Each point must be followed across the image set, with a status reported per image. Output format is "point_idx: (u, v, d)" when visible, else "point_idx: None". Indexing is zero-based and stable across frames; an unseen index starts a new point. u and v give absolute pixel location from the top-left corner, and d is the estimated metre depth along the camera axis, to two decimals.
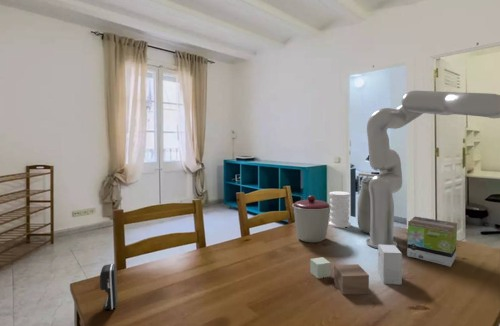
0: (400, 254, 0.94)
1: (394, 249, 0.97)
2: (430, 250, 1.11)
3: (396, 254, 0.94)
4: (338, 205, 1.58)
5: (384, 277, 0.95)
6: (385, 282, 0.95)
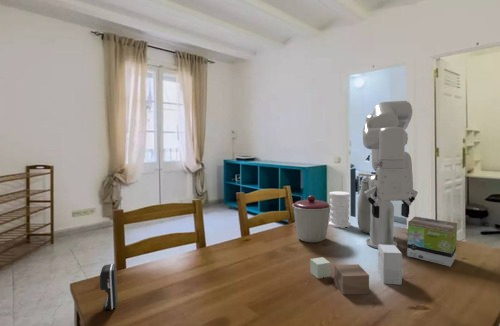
0: (400, 254, 0.94)
1: (394, 249, 0.97)
2: (430, 250, 1.11)
3: (396, 254, 0.94)
4: (338, 205, 1.58)
5: (384, 277, 0.95)
6: (385, 282, 0.95)
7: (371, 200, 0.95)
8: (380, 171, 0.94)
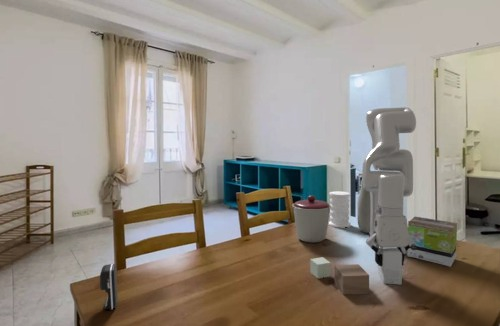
0: (400, 254, 0.94)
1: (394, 249, 0.97)
2: (430, 250, 1.11)
3: (396, 254, 0.94)
4: (338, 205, 1.58)
5: (384, 277, 0.95)
6: (385, 282, 0.95)
7: (374, 248, 0.97)
8: (379, 218, 0.95)
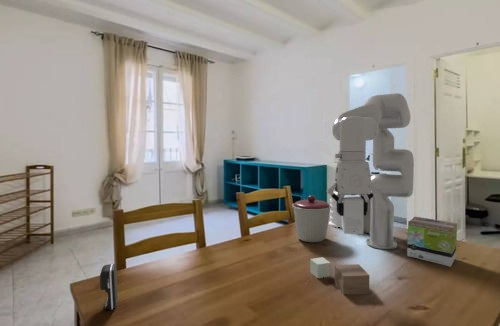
0: (361, 201, 0.87)
1: (356, 197, 0.90)
2: (430, 250, 1.11)
3: (357, 201, 0.87)
4: None
5: (345, 226, 0.88)
6: (345, 232, 0.88)
7: (335, 197, 0.90)
8: (340, 163, 0.89)
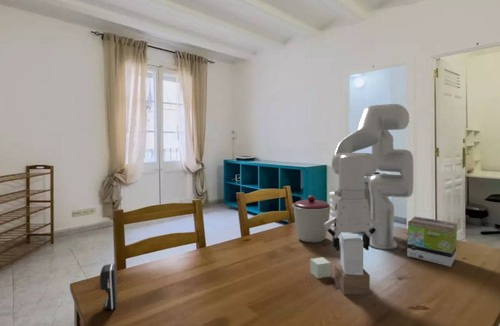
0: (361, 243, 0.88)
1: (356, 238, 0.91)
2: (430, 250, 1.11)
3: (357, 243, 0.88)
4: None
5: (345, 267, 0.89)
6: (346, 273, 0.89)
7: (331, 232, 0.91)
8: (339, 201, 0.89)
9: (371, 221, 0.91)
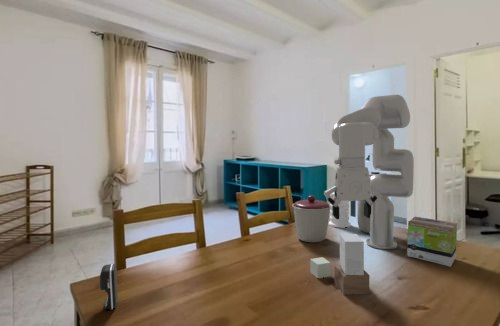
0: (362, 243, 0.88)
1: (356, 238, 0.91)
2: (430, 250, 1.11)
3: (358, 243, 0.88)
4: (338, 205, 1.58)
5: (346, 268, 0.89)
6: (346, 274, 0.89)
7: (331, 200, 0.90)
8: (339, 170, 0.89)
9: (372, 189, 0.91)
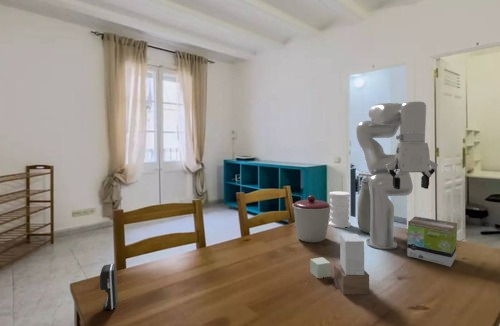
0: (362, 242, 0.88)
1: (356, 238, 0.91)
2: (430, 250, 1.11)
3: (358, 243, 0.88)
4: (338, 205, 1.58)
5: (346, 268, 0.89)
6: (347, 273, 0.89)
7: (392, 172, 1.00)
8: (401, 144, 0.99)
9: (430, 163, 1.00)
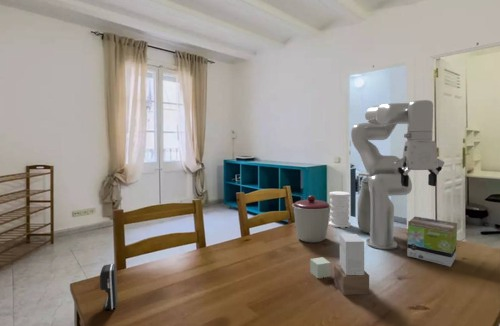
0: (362, 243, 0.88)
1: (356, 238, 0.91)
2: (430, 250, 1.11)
3: (358, 243, 0.88)
4: (338, 205, 1.58)
5: (346, 268, 0.89)
6: (347, 274, 0.89)
7: (401, 170, 1.01)
8: (409, 142, 1.00)
9: (437, 160, 1.02)
